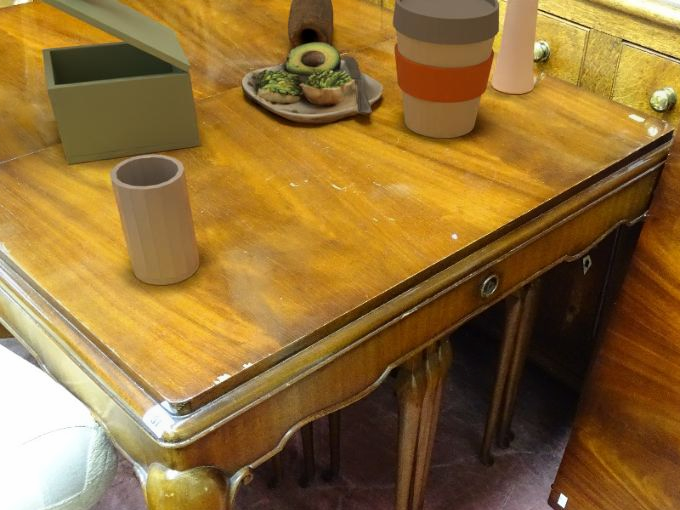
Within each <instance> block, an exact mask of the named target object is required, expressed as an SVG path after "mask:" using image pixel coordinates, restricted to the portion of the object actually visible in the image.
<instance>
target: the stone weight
mask: <svg viewBox="0 0 680 510" xmlns="http://www.w3.org/2000/svg"><path fill="white" fill-rule="evenodd" d="M333 6H334V5H333V1H332V0H292V1H291V4H290V8H289V14H288V19H287V34H288V36H287V37H288V39H289V43H290V44H291V46H292V47H293V49H294V48H295V47H297V46H300V45H303V44H307V43H313V42H322V43H326V44H330V45H331V43H332V38H333V33H334V7H333Z"/></svg>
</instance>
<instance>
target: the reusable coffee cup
mask: <svg viewBox="0 0 680 510" xmlns="http://www.w3.org/2000/svg"><path fill="white" fill-rule="evenodd" d="M392 17H393V18H392V26H393V28H394V29H395V35H396V43H395V44H394V47H393V50H394V58H395V69H396V77H397V78H396V79H397V85H398V87H399V89H400V90H401V96H402V105H403V106H402V107H403V116H404V117H403V118H404V123H405V126H406V127H407V128H408V129H409V130H410V131H412V132H414V133H416V134H418V135H421V136H424V137H429V138H436V139H449V138H450V139H453V138H457V137H461V136H462V137H463V136H464V135H467V134H469V133H470V132H471V131H472V130H473V129H474V128H475V125H476V120H477V115H478V111H479V107H480V102H481V98H482V95H484V94H485V92H486V90H487V87H488V83H489V79H490V75H491V70H492V66H493V63H494V58H495V51H494V49H493V47H494V44H495V43H494V42H495V39H496V36H497V35H498V33H499V32H500V2H499V0H395V1H394V9H393V16H392Z"/></svg>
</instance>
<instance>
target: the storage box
mask: <svg viewBox="0 0 680 510" xmlns="http://www.w3.org/2000/svg"><path fill="white" fill-rule="evenodd" d="M41 51H42V52H41V53H42V60H43V67H44V68H43V69H44V77H45V83H46V90H47V91H46V92H47V94H48V98H49V102H50V105H51V108H52V112H53V115H54V119H55V123H56V127H57V130H58V134H59V138H60V142H61V144H62V148H63V152H64V156H65V159H66V163H67V165H74V164H81V163H87V162H94V161H95V162H96V161H103V160H109V159H110V160H111V159H116V158H125V157H130V156H140V155H147V154H154V153H158V152H167V151H173V150H180V149H188V148H194V147H195V148H196V147H201V146H202V145H201V138H200V131H199V125H198V118H197V113H196V112H197V111H196V104H195V99H194V90H193V85H192V78H191V72H190V71H188V72H186V71H184V70H182V69H180V68H178V67H176V66H174V65H172V64H170V63H168V62H165V61H163V60H161V59H159V58H157V57H155V56H153V55H151V54H149V53H147V52H145V51H143V50H141V49H139V48H137V47H135V46H133V45H130V44H128V43H126V42H124V41H115V42H104V43H93V44H82V45H72V46H71V45H70V46H62V47H61V46H60V47H50V48H42V49H41Z"/></svg>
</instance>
